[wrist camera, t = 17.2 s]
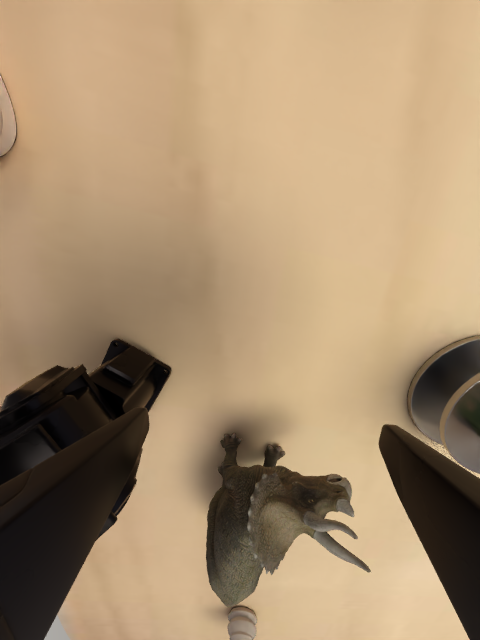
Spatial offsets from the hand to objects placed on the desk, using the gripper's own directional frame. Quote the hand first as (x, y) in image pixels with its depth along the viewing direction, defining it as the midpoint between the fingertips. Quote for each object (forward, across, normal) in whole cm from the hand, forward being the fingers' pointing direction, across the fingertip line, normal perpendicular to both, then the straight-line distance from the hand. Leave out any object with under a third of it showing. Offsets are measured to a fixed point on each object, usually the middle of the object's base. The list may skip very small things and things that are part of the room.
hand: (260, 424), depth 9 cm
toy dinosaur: (+13, +1, +18) cm, 22 cm away
